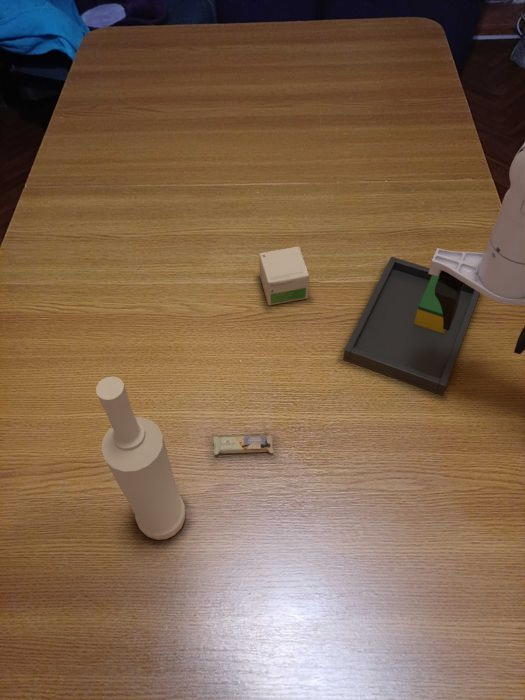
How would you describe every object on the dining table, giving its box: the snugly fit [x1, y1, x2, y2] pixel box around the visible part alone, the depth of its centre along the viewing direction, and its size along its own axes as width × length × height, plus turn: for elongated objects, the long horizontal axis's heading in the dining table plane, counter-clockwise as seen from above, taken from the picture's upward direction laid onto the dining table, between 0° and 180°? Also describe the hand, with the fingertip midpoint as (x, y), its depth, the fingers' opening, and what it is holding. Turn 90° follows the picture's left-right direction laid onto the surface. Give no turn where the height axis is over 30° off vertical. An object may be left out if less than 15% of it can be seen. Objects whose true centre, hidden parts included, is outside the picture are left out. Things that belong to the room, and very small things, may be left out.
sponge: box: [414, 275, 446, 334], centre depth 79 cm, size 7×4×4 cm, turn 154°
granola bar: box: [212, 434, 274, 456], centre depth 69 cm, size 7×2×1 cm, turn 91°
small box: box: [258, 245, 310, 306], centre depth 82 cm, size 6×6×5 cm
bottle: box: [95, 375, 186, 541], centre depth 55 cm, size 5×5×25 cm
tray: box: [342, 256, 481, 396], centre depth 79 cm, size 13×18×2 cm
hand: (483, 334), depth 67 cm, fingers open, 7 cm apart
